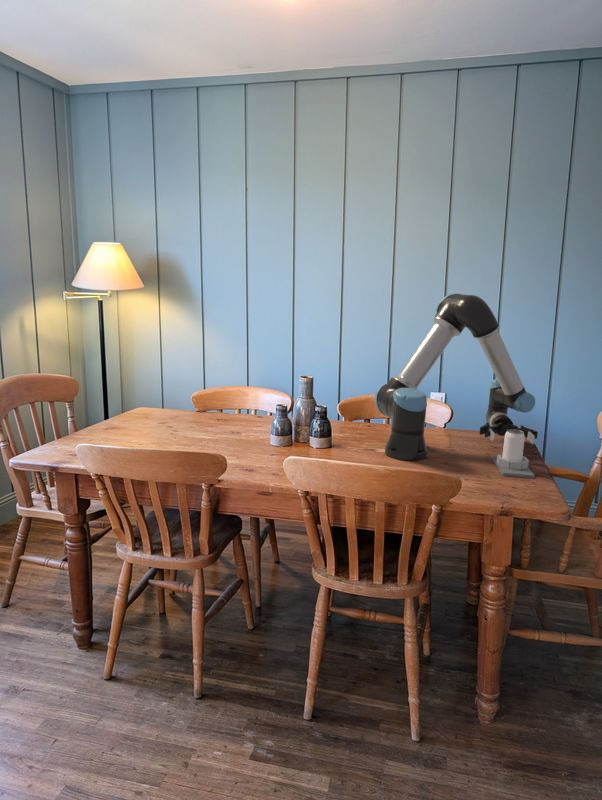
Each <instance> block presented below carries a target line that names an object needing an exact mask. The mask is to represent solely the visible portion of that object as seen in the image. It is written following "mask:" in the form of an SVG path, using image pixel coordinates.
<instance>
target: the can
mask: <svg viewBox="0 0 602 800" xmlns="http://www.w3.org/2000/svg"><path fill="white" fill-rule="evenodd" d="M525 438H526V437H525V436H524V432H523V431H521V430H516V429H508V430H507V432H506V434H505V436H504V439H503V448H502V454H503V455H502V458H503V459H506V460H509V461H519V462H521V461H522V456H523V455H524V447H525V440H526V439H525Z"/></svg>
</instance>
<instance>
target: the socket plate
mask: <svg viewBox="0 0 602 800" xmlns="http://www.w3.org/2000/svg"><path fill="white" fill-rule="evenodd" d="M502 455H503V453H500V454H497V455H493V454H492V455H491V459H492V461H493V462H494V464H495V466H496V467H497V469H498V471H499V472H500V473H501V475H502V476H504V477H515V478H524V479H525V478H526V479H535V473H533V472H532V470H531V469H530V468H529V463H530V460H529V459H528V458H527V457H526V456H522V461H521V462H519V461H509V460H506V459H503V458H502Z"/></svg>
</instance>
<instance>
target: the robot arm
mask: <svg viewBox="0 0 602 800" xmlns="http://www.w3.org/2000/svg"><path fill="white" fill-rule="evenodd" d="M435 310H436V312H435V313H436V314H435V316H434V317H433V325H432V327H431V328H430V329H429V331H428V332H427V334H426V335H425V337H424V338H423V339H422V341H421V343H419V345H418V347H416V349H415V351H414V352H413V354H412V355H411V356H410V358H409V360H408V361H407V363H406V364H405V365H404V366H403V368H402V370H401V371H400V372H399V374H398V375H396V376H395V375H394V376H392V377H391V378H390V380H389V381H388V382H387V383H386V384H382V385H381V386H380V387H379V388H378V389H377V390H376V391H375V394H374V399H373V401H374V405H375V407H376V409H377V411H379V412H380V413H381V415H384V416H385V417H388V418H389V419H391V430H390V431H391V432H390V434H389V436H388V439H387V442H386V443H385V446H384V454H385V455H386V456H389V457H390V458H392V459H397V460H402V461H420V460H424V459H426V458H427V457H428V447H427V443H426V440H425V426H426V425H425V424H426V414H427V406H428V403H427V401H428V399H427V398H428V397H427V395H426V393H424V391H422V390H420V389H418V387H419V386H420V385H421V383H422V382H423V381H424V379H425V378H426V376H427V375H428V373H429V372H430V371H431V369H432V368H433V366H434V365H435V364H436V362H437V360H438V359H439V358H440V356H441V355H442V353H443V352H444V351H445V349H446V348H447V347H448V345H449V343H450V342H451V341H452V339H453V338H454V337H458V336H460V335H461V334H462V332H463V331H464V329H465V328H467V330H469V332H470V334H471V335H472V336H473V338H474V339H477V340H478V343H479V345H480V346H481V348H482V351H483V353H484V355H485V356H486V358H487V361H488V362H489V365H490V368H491V369H492V371H493V373H494V376H495V377H496V378H494V379H493V380H491V381H490V388H489V396H488V397H489V399H488V406H487V410H486V412H485V420H486V422H485V424H483V425H482V426H480V427H479V433H478V434H479V435H484V438H489V439H490V441H491V442H493V441H495V434H496V435H497V436H501V437H505V434H506V432H507V430H508V429H516V430H521V431H523V432H524V436H525V438H526V439H527V440H528V441H529V443H530V444H532V445H534V444H535V439H536V440H537V439H538V434H539V433H538V431H537V430H534V429H532V428H529V427H526V426H524V425H522V424H521V425H519V426H518V425H515V424H514V422H513V420H512V419H511V418H510V417H509V416H508V410H509V409H511V410H514V411H516V412H520V413H524V414H526V413H529V412H531V411H532V410H533V409H534V408H535V406H536V398H535V396H534V395H533V394H531V393H530V392H527V389H526V388H525V386H524V384H523V382H522V381H523V380H522V379H521V377H520V375H519V373H518V370H517V369H516V366H515V365H514V363H513V360H512V358H511V355H510V353H509V351H508V349H507V347H506V345H505V342H504V341H503V338H502V336H501V334H500V332H499V330H498V329H499V327H500V324H499V323H498V321H497V318H496V316H495V314H494V312H493V311H492V308H490V307H489V305H488V303H486V301H484V299H483V298H481V297H480V296H477V295H474V294H462V293H452V294H451V293H450V294H448V295H445V296H444V297H442V298H441V299H440V300H439V301H438V303H437V305H436V309H435Z"/></svg>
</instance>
